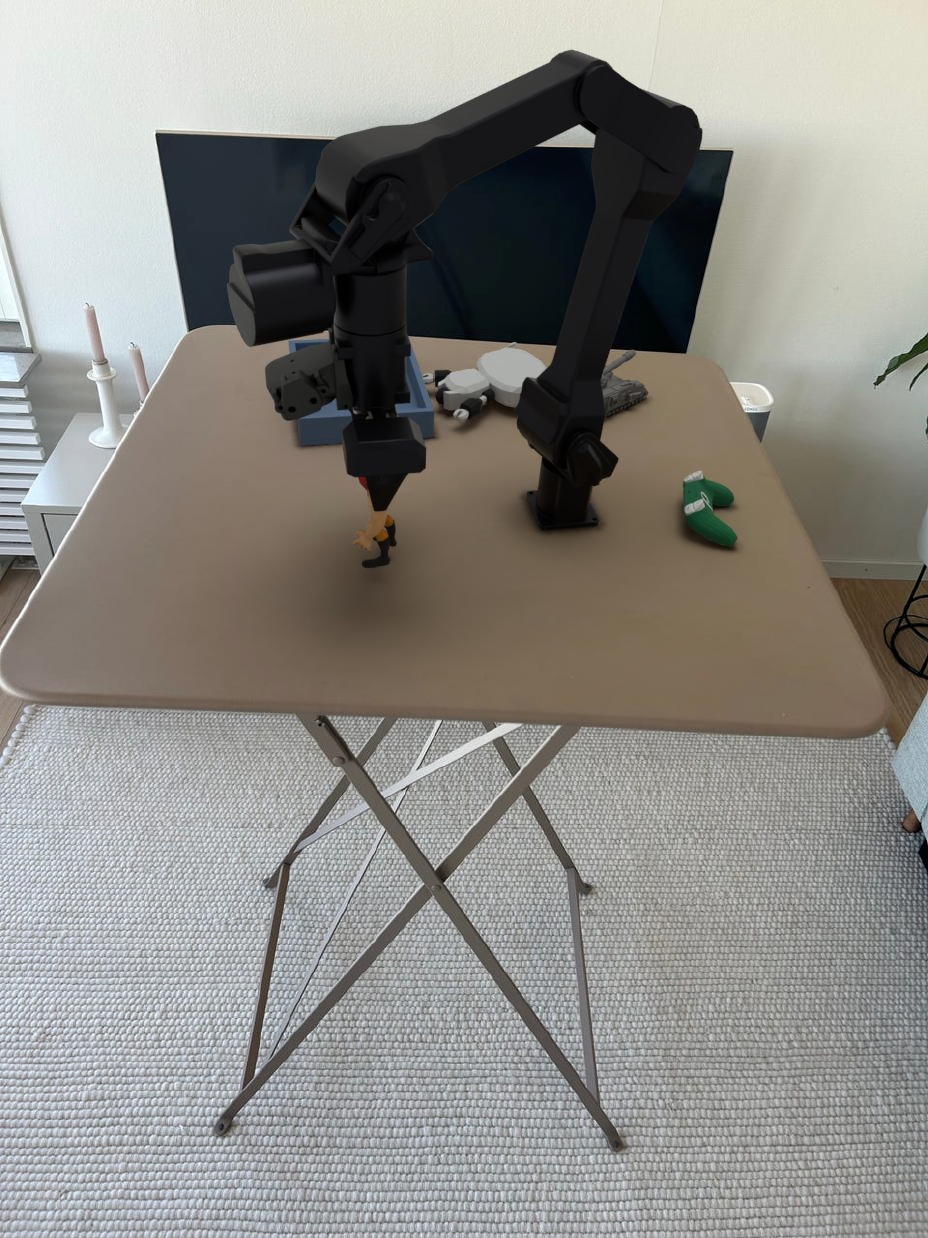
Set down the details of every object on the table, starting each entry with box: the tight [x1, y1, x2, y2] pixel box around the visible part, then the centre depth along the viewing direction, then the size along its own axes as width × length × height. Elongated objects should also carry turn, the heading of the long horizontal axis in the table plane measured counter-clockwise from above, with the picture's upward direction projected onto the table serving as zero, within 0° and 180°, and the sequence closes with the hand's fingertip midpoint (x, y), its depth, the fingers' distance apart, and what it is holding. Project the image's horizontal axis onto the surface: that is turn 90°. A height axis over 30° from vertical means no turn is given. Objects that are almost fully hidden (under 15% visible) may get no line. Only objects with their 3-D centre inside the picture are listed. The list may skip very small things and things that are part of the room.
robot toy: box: [422, 341, 548, 422], centre depth 110 cm, size 12×4×15 cm
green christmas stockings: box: [682, 470, 739, 548], centre depth 94 cm, size 9×4×6 cm
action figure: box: [352, 416, 398, 569], centre depth 81 cm, size 10×4×15 cm, turn 171°
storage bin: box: [287, 335, 435, 447], centre depth 109 cm, size 20×16×4 cm
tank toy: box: [601, 349, 649, 418], centre depth 112 cm, size 12×10×5 cm
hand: (374, 485), depth 80 cm, fingers closed on action figure, 7 cm apart
